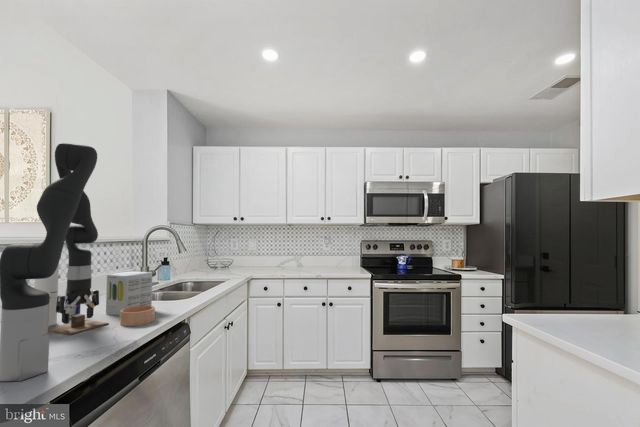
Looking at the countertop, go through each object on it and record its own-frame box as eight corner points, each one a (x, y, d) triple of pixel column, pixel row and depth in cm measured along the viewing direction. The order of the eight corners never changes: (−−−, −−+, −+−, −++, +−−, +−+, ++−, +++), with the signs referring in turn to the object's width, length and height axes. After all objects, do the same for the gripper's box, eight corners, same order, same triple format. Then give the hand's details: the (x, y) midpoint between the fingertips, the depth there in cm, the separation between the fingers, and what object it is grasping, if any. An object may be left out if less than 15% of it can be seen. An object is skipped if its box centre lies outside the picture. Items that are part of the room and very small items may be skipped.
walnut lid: (108, 326, 129) (108, 312, 129) (70, 337, 116) (71, 322, 116) (83, 322, 134) (84, 309, 134) (44, 332, 121) (45, 318, 121)
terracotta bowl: (160, 319, 136) (161, 307, 137) (135, 327, 125) (135, 313, 125) (139, 316, 141) (139, 304, 141) (112, 324, 129) (113, 311, 130)
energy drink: (71, 318, 138) (72, 289, 138) (61, 317, 139) (62, 289, 139) (83, 315, 143) (84, 287, 144) (73, 314, 144) (74, 286, 145)
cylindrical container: (61, 323, 131) (63, 259, 132) (41, 328, 124) (44, 261, 125) (47, 321, 133) (50, 259, 134) (28, 326, 126) (30, 260, 127)
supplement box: (104, 314, 145) (105, 274, 146) (132, 307, 157) (133, 270, 158) (125, 317, 140) (126, 275, 140) (152, 310, 152) (153, 272, 153)
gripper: (65, 280, 118) (64, 326, 117) (104, 275, 131) (103, 316, 130) (52, 279, 120) (50, 324, 120) (91, 274, 134) (90, 315, 133)
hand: (78, 320), depth 125 cm, fingers open, 8 cm apart
